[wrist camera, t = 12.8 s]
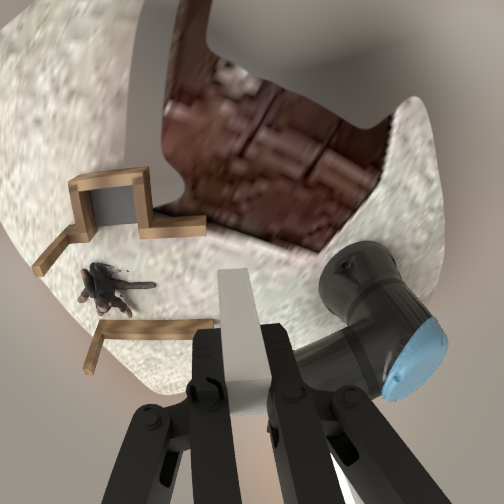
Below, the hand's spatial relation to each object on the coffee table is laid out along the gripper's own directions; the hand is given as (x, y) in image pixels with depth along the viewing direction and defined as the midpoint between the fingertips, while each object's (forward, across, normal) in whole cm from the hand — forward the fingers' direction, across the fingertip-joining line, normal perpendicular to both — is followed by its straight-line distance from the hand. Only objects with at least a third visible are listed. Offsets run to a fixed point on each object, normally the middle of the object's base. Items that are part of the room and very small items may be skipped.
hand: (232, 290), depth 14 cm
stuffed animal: (+25, +19, +18) cm, 36 cm away
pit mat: (+24, +15, +3) cm, 29 cm away
